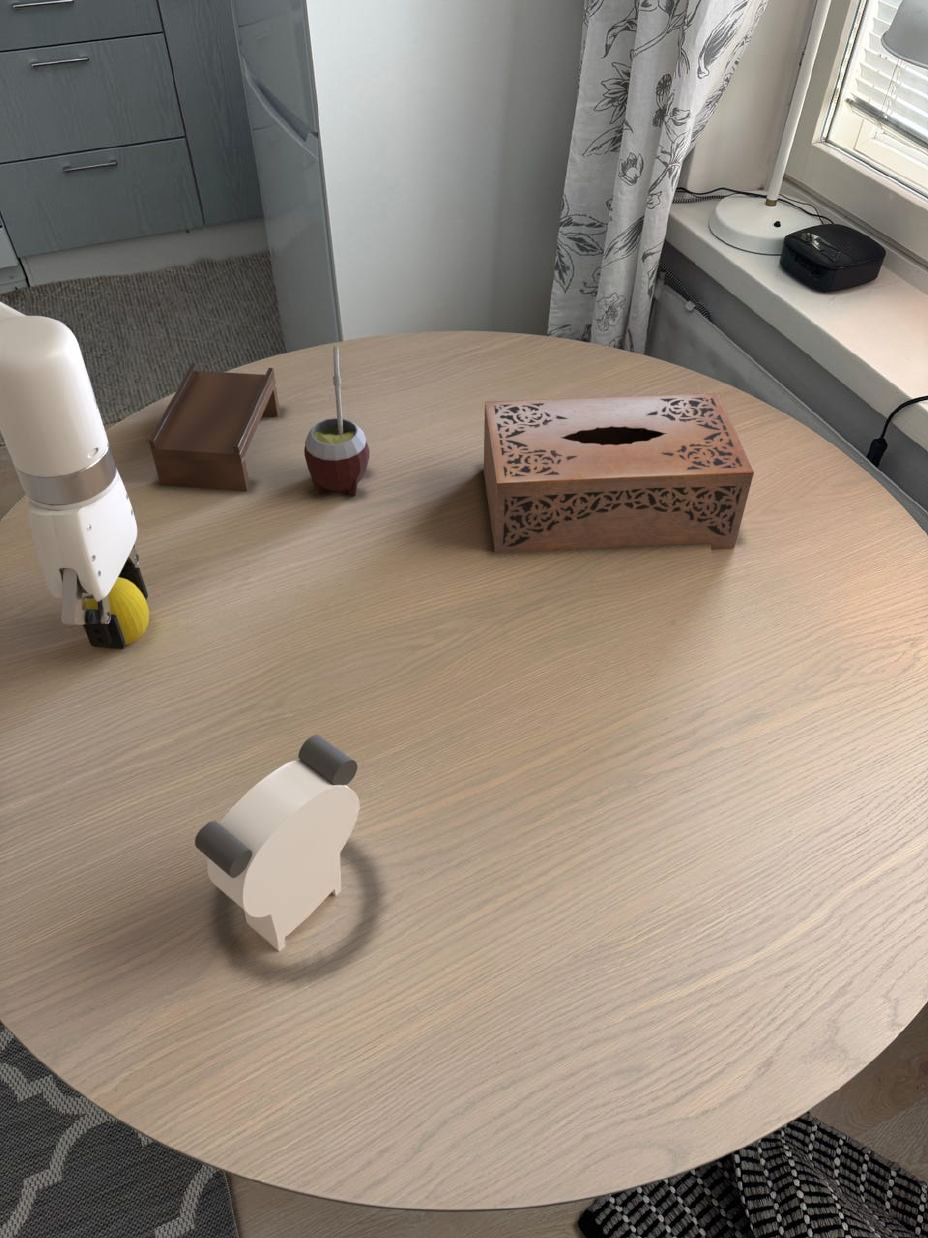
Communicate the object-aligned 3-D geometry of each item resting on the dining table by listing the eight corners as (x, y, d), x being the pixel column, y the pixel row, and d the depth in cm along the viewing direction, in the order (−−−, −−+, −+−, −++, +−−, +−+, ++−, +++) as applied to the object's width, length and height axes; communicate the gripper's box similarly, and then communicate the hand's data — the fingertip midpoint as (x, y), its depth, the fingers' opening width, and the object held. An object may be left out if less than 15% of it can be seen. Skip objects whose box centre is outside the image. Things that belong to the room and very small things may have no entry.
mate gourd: (332, 517, 110) (318, 401, 99) (294, 483, 114) (276, 368, 104) (387, 491, 113) (379, 375, 103) (348, 458, 118) (336, 344, 107)
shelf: (162, 491, 113) (148, 440, 108) (202, 412, 124) (191, 362, 119) (248, 497, 112) (238, 446, 107) (281, 417, 124) (273, 367, 119)
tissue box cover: (702, 466, 117) (718, 392, 110) (734, 547, 107) (754, 472, 99) (483, 475, 115) (484, 401, 108) (494, 558, 105) (497, 483, 98)
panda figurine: (306, 816, 83) (283, 700, 72) (408, 895, 78) (399, 783, 67) (193, 919, 76) (149, 808, 66) (296, 1012, 71) (267, 909, 61)
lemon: (149, 614, 99) (130, 554, 94) (162, 651, 96) (143, 591, 90) (93, 631, 98) (70, 571, 92) (104, 669, 94) (81, 609, 89)
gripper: (63, 406, 88) (114, 558, 101) (-24, 532, 76) (47, 686, 89) (145, 411, 88) (186, 564, 101) (71, 539, 76) (128, 693, 89)
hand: (120, 620), depth 95 cm, fingers closed on lemon, 5 cm apart
